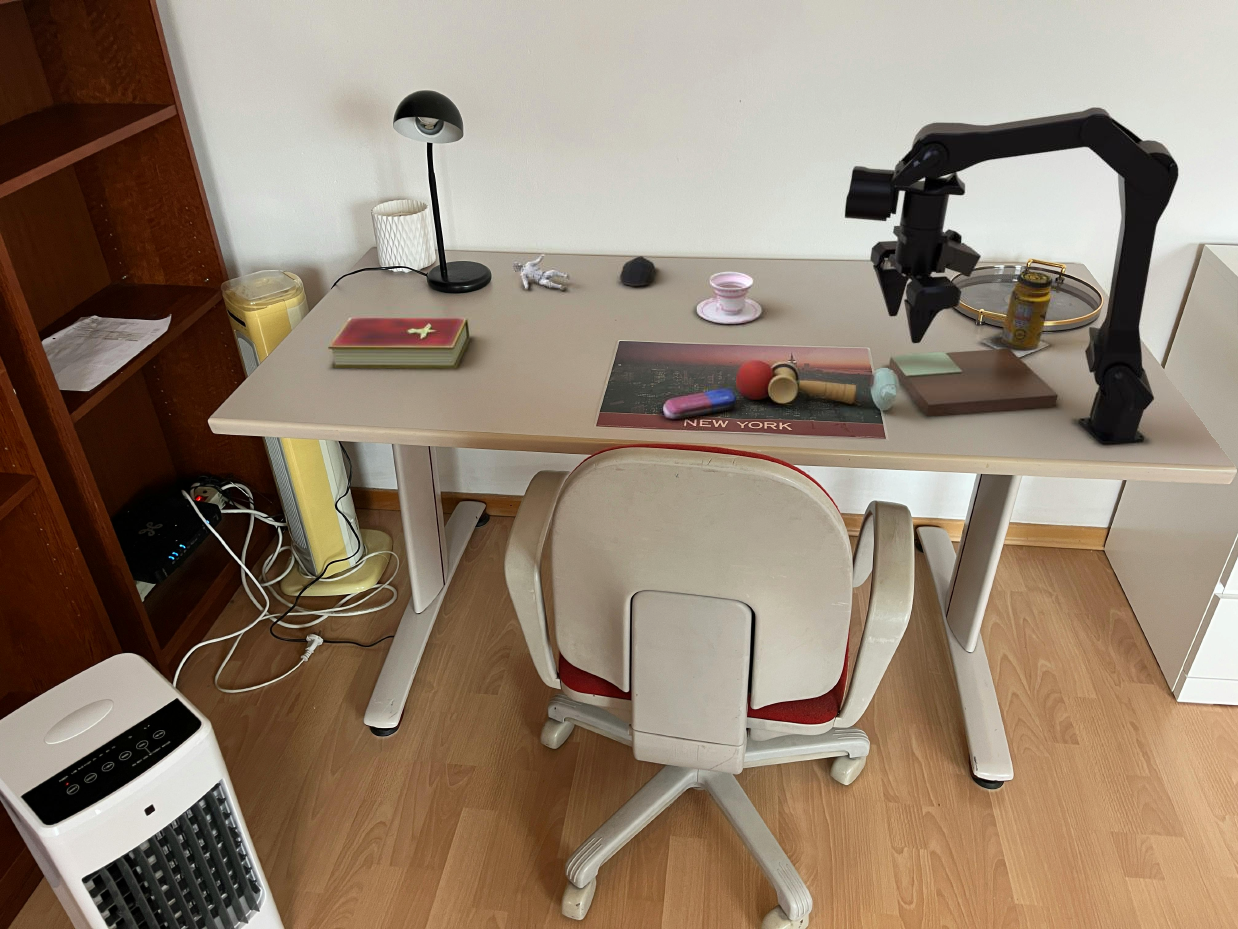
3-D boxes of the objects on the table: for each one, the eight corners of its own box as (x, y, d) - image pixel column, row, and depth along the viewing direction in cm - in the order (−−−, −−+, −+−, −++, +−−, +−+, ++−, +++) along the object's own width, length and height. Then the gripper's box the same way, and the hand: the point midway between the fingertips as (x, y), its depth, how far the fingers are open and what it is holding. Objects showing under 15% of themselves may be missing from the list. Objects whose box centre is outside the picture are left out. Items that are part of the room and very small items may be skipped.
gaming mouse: (660, 262, 191) (660, 243, 188) (649, 289, 179) (649, 270, 176) (630, 260, 192) (630, 242, 190) (617, 287, 180) (617, 268, 177)
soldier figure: (554, 301, 177) (501, 275, 179) (558, 308, 182) (506, 283, 184) (572, 266, 178) (519, 241, 180) (576, 275, 183) (524, 250, 184)
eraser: (668, 422, 136) (668, 412, 135) (660, 409, 139) (659, 398, 138) (739, 409, 138) (739, 398, 137) (729, 396, 141) (729, 386, 140)
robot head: (896, 423, 134) (903, 383, 130) (868, 421, 134) (873, 381, 131) (892, 397, 140) (899, 358, 137) (865, 395, 141) (871, 356, 137)
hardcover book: (354, 337, 163) (349, 315, 161) (469, 337, 162) (467, 315, 160) (332, 367, 153) (327, 345, 151) (456, 368, 152) (452, 345, 150)
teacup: (773, 318, 166) (776, 286, 162) (714, 329, 162) (715, 297, 159) (742, 294, 175) (744, 264, 172) (685, 305, 172) (686, 274, 168)
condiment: (1049, 345, 154) (1067, 278, 148) (1017, 358, 150) (1034, 290, 144) (1012, 330, 159) (1028, 265, 153) (981, 343, 155) (995, 276, 149)
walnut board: (1055, 406, 137) (1058, 393, 136) (926, 416, 135) (929, 403, 134) (1006, 359, 150) (1009, 347, 149) (888, 367, 149) (890, 355, 147)
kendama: (847, 395, 144) (735, 375, 145) (858, 364, 139) (742, 343, 140) (848, 427, 138) (730, 406, 139) (859, 396, 134) (738, 374, 135)
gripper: (1010, 244, 116) (985, 354, 125) (951, 199, 132) (932, 300, 140) (925, 248, 115) (906, 359, 124) (876, 203, 131) (862, 304, 140)
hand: (904, 328), depth 132 cm, fingers open, 9 cm apart
